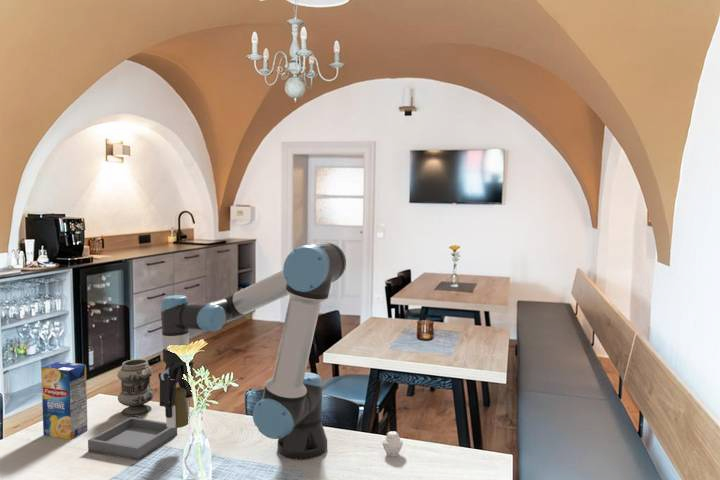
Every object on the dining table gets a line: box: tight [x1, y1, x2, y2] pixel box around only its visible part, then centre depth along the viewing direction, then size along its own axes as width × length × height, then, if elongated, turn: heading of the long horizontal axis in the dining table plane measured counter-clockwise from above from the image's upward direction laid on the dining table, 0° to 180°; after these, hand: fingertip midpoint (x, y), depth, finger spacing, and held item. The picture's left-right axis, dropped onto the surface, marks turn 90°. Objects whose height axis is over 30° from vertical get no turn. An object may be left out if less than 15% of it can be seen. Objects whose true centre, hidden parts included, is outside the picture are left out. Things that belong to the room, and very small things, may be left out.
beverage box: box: [40, 361, 89, 440], centre depth 170 cm, size 7×11×22 cm, turn 74°
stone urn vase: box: [116, 358, 155, 417], centre depth 188 cm, size 12×12×18 cm
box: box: [87, 416, 178, 461], centre depth 164 cm, size 18×18×4 cm
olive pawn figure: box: [173, 386, 190, 429], centre depth 159 cm, size 6×6×11 cm
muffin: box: [381, 431, 404, 458], centre depth 158 cm, size 6×6×7 cm
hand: (178, 422), depth 160 cm, fingers closed on olive pawn figure, 6 cm apart
